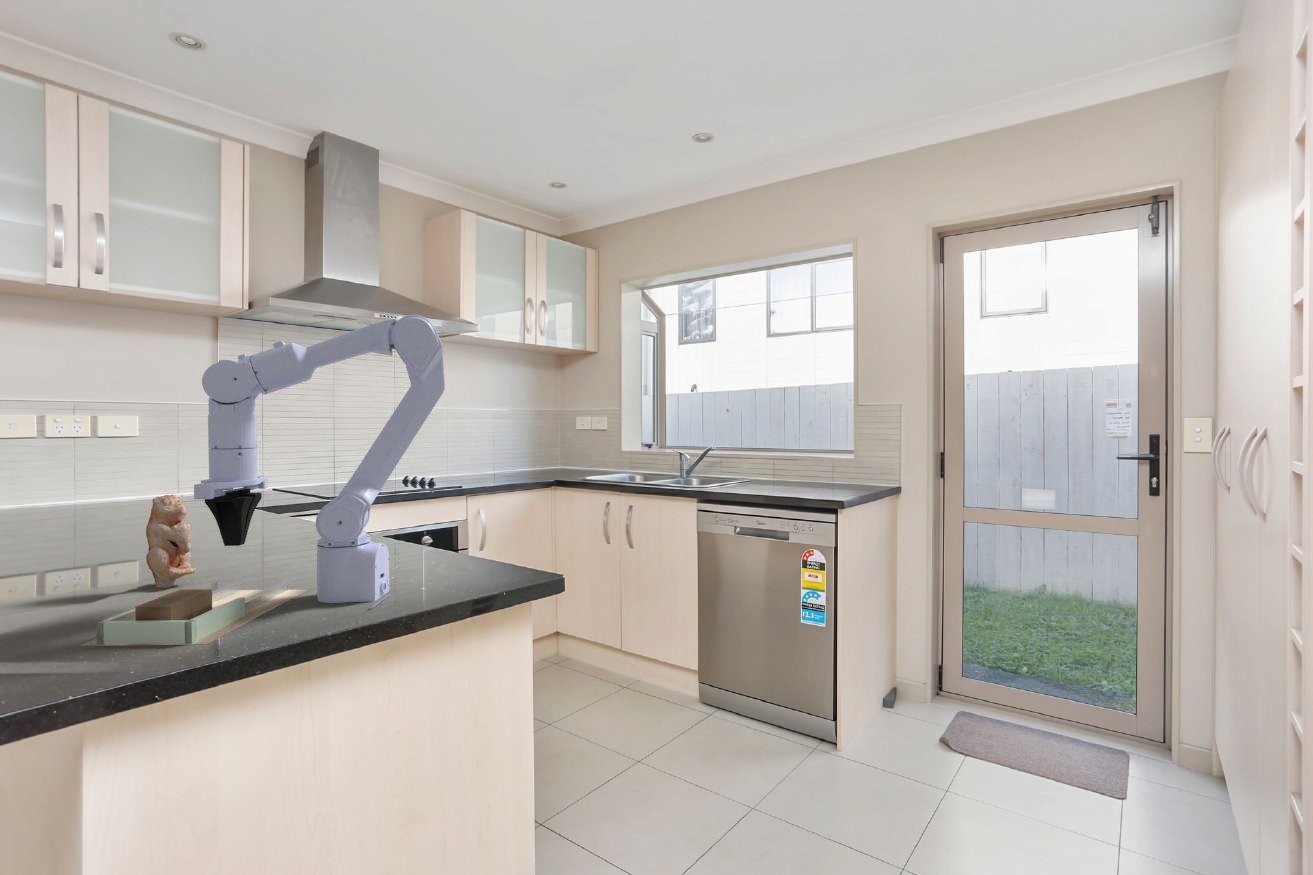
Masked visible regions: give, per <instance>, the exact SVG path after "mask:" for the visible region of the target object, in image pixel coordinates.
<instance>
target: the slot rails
mask: <svg viewBox="0 0 1313 875" xmlns="http://www.w3.org/2000/svg"><path fill="white" fill-rule="evenodd" d="M242 582H243V581H238V582H237V581H236V582H231V583H228V584H226V585H224V586H221V587H218V588H216V589H214V590H213V589H212V603H213V602H216V601H218V600H220V599H222V598H225V597H227V596H229V595H232V594H234V593H236V592H238V591H241V590H243V589H242V588H243V584H242ZM263 590H264V591H262V592H259V593H257V594H255V595H253V596H251V597H249V598H246V599H245V612H246V611H248V610H250V609H252V608H254V607H256V606H258V605H260V604H262V603H264V602H266V601H268V600H270V599H272V598H274V597H277V596H279V595H281V594H283V593H285V592H287V591H289V590H291V581H281V582H279V583H277V584H275V585H272V586H270V587H268V588H266V589H263Z"/></svg>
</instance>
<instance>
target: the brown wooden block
mask: <svg viewBox="0 0 1313 875" xmlns="http://www.w3.org/2000/svg"><path fill="white" fill-rule="evenodd" d="M212 591H213V588H212V589H211V588H206V589H205V588H204V589H202V588H201V589H199V588H196V589H193V588H191V589H187V588H186V589H185V588H184V589H183V588H182V589H178V590H175V591H172V592H170V593H168V594H164V595H162V596H159V597H158V598H177V597H193V618H195V617H197V616H199V615H201V614H204V613H206V612H208V611H210V610H212Z"/></svg>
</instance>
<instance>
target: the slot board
mask: <svg viewBox="0 0 1313 875" xmlns="http://www.w3.org/2000/svg"><path fill="white" fill-rule="evenodd" d="M264 590H265V589H242V590H241V591H238V592H236V593H234V594H232V595H229V596H227V597H225V598H222V599H220V600H218V601H216V602H213V603H212V610H213V609H215V608H217V607H219V606H221V605H224V604H226V603H228V602H230V601H232V600H235V599H237V598H243V597H245V599H246V598H249V597H251V596H253V595H255V594H257V593H259V592H262V591H264ZM308 591H309V589H290V590H289V591H287V592H285V593H283V594H281V595H279V596H277V597H274V598H272V599H270V600H268V601H266V602H264V603H262V604H260V605H258V606H256V607H254V608H252V609H250V610H248V611H246V612H245V617H243V618H241V619H239V620H237V621H235V622H233V623H231V624H229V625H227V626H225V627H223V628H221V629H219V630H217V631H216V632H214V633H212V634H210V635H208V636H206V637H204V638H202V639H200V640H198V641H196V642H194V643H192V644H109V645H97V638H95V639H92V640H89V641H86V642H85V643H83V644H80V645H79V646H80V647H82V646H83V647H87V646H89V647H91V646H94V647H95V646H97V647H98V646H99V647H100V646H102V647H103V646H104V647H105V646H166V645H167V646H175V645H177V646H178V645H179V646H180V645H182V646H183V645H184V646H185V645H186V646H187V645H191V646H192V645H209V644H210V643H212V642H213V641H215V640H217V639H219V638H221V637H222V636H225V635H226V634H229V633H231V632H232V631H234V630H236V629H238V628H240V627H241V626H243V625H245V624H247V623H250V622H252V621H253V620H254V619H257V618H259V617H260V616H262V615H264V614H267V613H269V612H270V611H272V610H274V609H275V608H277V607H279V606H281V605H283V604H285V603H287V602H289V601H290V600H293V599H295V598H297V597H298V596H300V595H302V594H304V593H305V592H306V593H307V592H308Z"/></svg>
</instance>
